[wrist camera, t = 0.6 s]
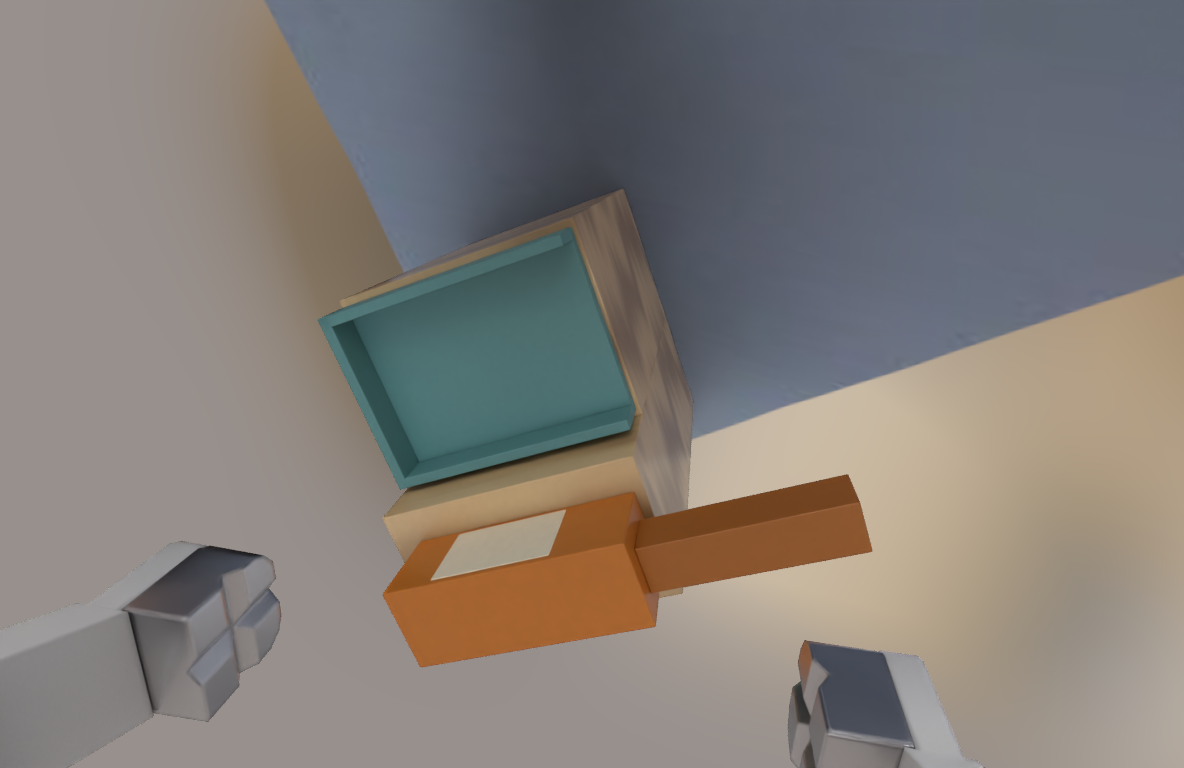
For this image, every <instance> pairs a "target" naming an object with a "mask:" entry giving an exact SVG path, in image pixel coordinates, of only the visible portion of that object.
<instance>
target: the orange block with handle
mask: <svg viewBox="0 0 1184 768" xmlns="http://www.w3.org/2000/svg"><path fill="white" fill-rule="evenodd" d="M868 552H872V547H871V543H870V539H869V536H868V531H867V528H866V524H865V520H864V516H863V512H862V508H861V505H860V501H859V499H858V497H857V494H856V492H855V490H854V487H853V485H852V482H851V480H850V478H849V475H842V476H838V477H833V478H829V479H824V480H819V481H816V482H811V483H806V484H801V485H797V486H793V487H788V488H783V489H779V490H775V491H770V492H765V493H761V494H756V495H752V496H747V497H742V498H738V499H733V500H729V501H724V502H720V503H715V504H711V505H706V506H702V507H697V508H693V509H689V510H683V511H679V512H674V513H670V514H665V515H661V516H656V517H652V518H647V519H645V518H644V516H643V513H642V510H641V508H640V505H639V502H638V500H637V497H636V494H635V492H631V493H626V494H622V495H618V496H614V497H609V498H605V499H601V500H596V501H592V502H588V503H584V504H579V505H575V506H571V507H566V508H562V509H558V510H554V511H549V512H545V513H541V514H536V515H532V516H528V517H524V518H519V519H515V520H511V521H506V522H502V523H498V524H494V525H489V526H485V527H481V528H476V529H472V530H468V531H464V532H459V533H455V534H451V535H446V536H442V537H438V538H434V539H429V540H425V541H421V542H420V543H419V544H418V546H417V547H416V548H415V550H414V551H413V553H412V554H411V555H410V557H409V558H408V560H407V561H406V562H405V564H404V565H403V567H402V568H401V569H400V571H399V572H398V574H397V575H396V576H395V578H394V579H393V581H392V582H391V583H390V585H389V586H388V587H387V589H386V590H385V592H384V593H383V597H384V599H385V601H386V603H387V605H388V606H389V609H390V610H391V612H392V614H393V616H394V618H395V620H396V622H397V624H398V626H399V628H400V629H401V631H402V633H403V635H404V637H405V639H406V641H407V643H408V645H409V647H410V649H411V651H412V652H413V654H414V656H415V658H416V660H417V662H418V664H419V666H420V667H427V666H432V665H438V664H443V663H450V662H455V661H461V660H467V659H472V658H478V657H483V656H490V655H495V654H501V653H507V652H513V651H519V650H524V649H530V648H535V647H542V646H547V645H553V644H559V643H565V642H570V641H576V640H582V639H587V638H593V637H599V636H605V635H611V634H616V633H622V632H628V631H634V630H640V629H645V628H651V627H655V626H656V618H657V609H658V600H659V592H661V591H666V590H672V589H677V588H682V587H687V586H693V585H698V584H704V583H709V582H714V581H719V580H724V579H730V578H735V577H741V576H746V575H751V574H757V573H762V572H767V571H773V570H778V569H783V568H788V567H794V566H799V565H804V564H809V563H815V562H820V561H826V560H831V559H836V558H842V557H846V556H852V555H858V554H863V553H868Z"/></svg>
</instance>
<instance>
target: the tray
mask: <svg viewBox="0 0 1184 768" xmlns="http://www.w3.org/2000/svg"><path fill="white" fill-rule="evenodd" d="M318 322H319V324H320V326H321V328H322V330H323V332H324V334H325V336H326V338H327V340H328V343H329V345H330V347H331V349H332V351H333V352H334V355H335V357H336V359H337V361H338V363H339V365H340V367H341V369H342V371H343V373H344V375H345V377H346V379H347V381H348V384H349V385H350V388H351V390H352V392H353V394H354V396H355V398H356V400H357V402H358V404H359V406H360V408H361V410H362V412H363V414H364V416H365V418H366V421H367V423H368V425H369V427H370V429H371V431H372V433H373V435H374V437H375V439H376V441H377V443H378V445H379V447H380V449H381V451H382V453H383V455H384V457H385V460H386V462H387V464H388V465H389V468H390V470H391V472H392V474H393V476H394V478H395V480H396V482H397V484H398V486H399V488H400V490H401V489H405V488H409V487H412V486H416V485H420V484H424V483H428V482H432V481H435V480H439V479H443V478H447V477H451V476H455V475H458V474H462V473H466V472H470V471H474V470H478V469H481V468H485V467H489V466H493V465H497V464H501V463H505V462H508V461H512V460H516V459H520V458H524V457H528V456H531V455H535V454H539V453H543V452H547V451H551V450H554V449H558V448H562V447H566V446H570V445H574V444H578V443H581V442H585V441H589V440H593V439H597V438H601V437H604V436H608V435H612V434H616V433H620V432H624V431H627V430H630V429H631V426H632V422H633V419H634V415H635V411H636V406H635V404H634V401H633V398H632V395H631V392H630V389H629V387H628V384H627V381H626V378H625V375H624V373H623V370H622V367H621V364H620V361H619V359H618V356H617V353H616V350H615V347H614V344H613V342H612V339H611V336H610V333H609V330H608V328H607V325H606V322H605V319H604V316H603V314H602V311H601V308H600V305H599V302H598V299H597V297H596V294H595V291H594V288H593V285H592V283H591V280H590V277H589V274H588V271H587V269H586V266H585V263H584V260H583V257H582V254H581V252H580V249H579V246H578V243H577V240H576V238H575V235H574V232H573V229H572V227H568V228H565V229H562V230H559V231H556V232H554V233H551V234H548V235H545V236H542V237H540V238H537V239H534V240H531V241H528V242H526V243H523V244H520V245H517V246H514V247H512V248H509V249H506V250H503V251H500V252H498V253H495V254H492V255H489V256H486V257H484V258H481V259H478V260H475V261H472V262H470V263H467V264H464V265H461V266H458V267H456V268H453V269H450V270H447V271H444V272H441V273H439V274H436V275H433V276H430V277H427V278H425V279H422V280H419V281H416V282H413V283H411V284H408V285H405V286H402V287H399V288H397V289H394V290H391V291H388V292H385V293H383V294H380V295H377V296H374V297H371V298H369V299H366V300H363V301H360V302H357V303H355V304H352V305H349V306H346V307H344V308H342V309H340V310H337V311H335V312H333V313H331V314H329V315H326V316H324V317H322V318H320V319H318Z"/></svg>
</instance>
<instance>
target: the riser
mask: <svg viewBox="0 0 1184 768" xmlns="http://www.w3.org/2000/svg"><path fill="white" fill-rule="evenodd" d="M568 227H572V229H573V232H574V235H575V238H576V240H577V243H578V246H579V249H580V252H581V254H582V257H583V260H584V263H585V266H586V269H587V271H588V274H589V277H590V280H591V283H592V285H593V288H594V291H595V294H596V297H597V299H598V302H599V305H600V308H601V311H602V314H603V316H604V319H605V322H606V325H607V328H608V330H609V333H610V336H611V339H612V342H613V344H614V347H615V350H616V353H617V356H618V359H619V361H620V364H621V367H622V370H623V373H624V375H625V378H626V381H627V384H628V387H629V389H630V392H631V395H632V398H633V401H634V404H635V406H636V411H635V415H634V419H633V422H632V426H631V429H630V430H627V431H624V432H620V433H616V434H612V435H608V436H604V437H601V438H597V439H593V440H589V441H585V442H581V443H578V444H574V445H570V446H566V447H562V448H558V449H554V450H551V451H547V452H543V453H539V454H535V455H531V456H528V457H524V458H520V459H516V460H512V461H508V462H505V463H501V464H497V465H493V466H489V467H485V468H481V469H478V470H474V471H470V472H466V473H462V474H458V475H455V476H451V477H447V478H443V479H439V480H435V481H432V482H428V483H424V484H420V485H416V486H412V487H409V488H408V489H407V490H406V491H405V493H404V494H403V495H402V496H401V497H400V498H399V500H398V501H397V502H396V503H395V504H394V505H393V506H392V508H391V509H390V510H389V511H388V512H387V514H386V515H385V516H384V517H383V521H384V523H385V525H386V527H387V529H388V531H389V533H390V535H391V536H392V539H393V541H394V543H395V545H396V547H397V548H398V551H399V553H400V554H401V556H402V558H403V560H404V563H405V562H406V561H407V560H408V558H409V557H410V555H411V554H412V553H413V551H414V550H415V548H416V547H417V546H418V544H419V543H420V542H421V541H425V540H429V539H434V538H438V537H442V536H446V535H451V534H455V533H459V532H464V531H468V530H472V529H476V528H481V527H485V526H489V525H494V524H498V523H502V522H506V521H511V520H515V519H519V518H524V517H528V516H532V515H536V514H541V513H545V512H549V511H554V510H558V509H562V508H566V507H571V506H575V505H579V504H584V503H588V502H592V501H596V500H601V499H605V498H609V497H614V496H618V495H622V494H626V493H631V492H635V494H636V497H637V500H638V502H639V505H640V508H641V510H642V513H643V516H644V518H645V519H647V518H652V517H656V516H661V515H665V514H670V513H674V512H679V511H683V510H687V509H688V491H689V474H690V473H689V472H690V456H691V439H692V421H693V403H694V402H693V399H692V396H691V392H690V389H689V386H688V383H687V380H686V377H685V374H684V371H683V368H682V365H681V362H680V359H679V356H678V353H677V350H676V347H675V344H674V341H673V337H672V334H671V331H670V328H669V325H668V322H667V319H666V316H665V313H664V310H663V307H662V304H661V301H660V298H659V295H658V292H657V289H656V285H655V282H654V279H653V276H652V273H651V270H650V267H649V264H648V261H647V258H646V255H645V252H644V249H643V246H642V243H641V240H640V237H639V234H638V230H637V227H636V224H635V221H634V218H633V215H632V212H631V209H630V206H629V203H628V200H627V197H626V194H625V191H624V188H622V189H620V190H617V191H614V192H611V193H609V194H606V195H603V196H601V197H598V198H595V199H592V200H590V201H587V202H584V203H581V204H579V205H576V206H573V207H570V208H568V209H565V210H562V211H559V212H557V213H554V214H551V215H549V216H546V217H543V218H540V219H538V220H535V221H532V222H529V223H527V224H524V225H521V226H518V227H516V228H513V229H510V230H507V231H505V232H502V233H499V234H497V235H494V236H491V237H488V238H486V239H483V240H480V241H477V242H475V243H472V244H469V245H467V246H465V247H462V248H460V249H458V250H455V251H453V252H451V253H448V254H446V255H444V256H442V257H439V258H437V259H435V260H432V261H430V262H428V263H425V264H423V265H421V266H419V267H416V268H414V269H412V270H409V271H407V272H405V273H402V274H400V275H398V276H396V277H393V278H391V279H389V280H386V281H384V282H382V283H380V284H377V285H375V286H373V287H370V288H368V289H366V290H363V291H362V292H359V293H357V294H354V295H352V296H350V297H347V298H345V299H343V300H341V301H340V304H341V305H342V308H344V307H346V306H349V305H352V304H355V303H357V302H360V301H363V300H366V299H369V298H371V297H374V296H377V295H380V294H383V293H385V292H388V291H391V290H394V289H397V288H399V287H402V286H405V285H408V284H411V283H413V282H416V281H419V280H422V279H425V278H427V277H430V276H433V275H436V274H439V273H441V272H444V271H447V270H450V269H453V268H456V267H458V266H461V265H464V264H467V263H470V262H472V261H475V260H478V259H481V258H484V257H486V256H489V255H492V254H495V253H498V252H500V251H503V250H506V249H509V248H512V247H514V246H517V245H520V244H523V243H526V242H528V241H531V240H534V239H537V238H540V237H542V236H545V235H548V234H551V233H554V232H556V231H559V230H562V229H565V228H568ZM682 593H683V587H682V588H677V589H672V590H666V591H661V592H659V598H661V597H666V596H672V595H677V594H682Z"/></svg>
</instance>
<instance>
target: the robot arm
mask: <svg viewBox="0 0 1184 768" xmlns="http://www.w3.org/2000/svg"><path fill="white" fill-rule="evenodd" d="M275 579H276V575H275V570H274V565H273V561H272V560H271V559H269V558H267V557H266V556H263V555H258V554H253V553H247V552H241V551H236V550H230V549H226V548H220V547H214V546H205V545H201V544H194V543H189V542H183V541H180V542H175V543H170V544H168V545H167V546H166V547H164V548H163V549H162V550H160V551H159V552H158V553H156V554H155V555H153V556H152V557H151V558H149V559H148V560H147V561H145V562H144V563H143V564H141V565H140V566H139V567H137V568H136V569H134V570H133V571H132V572H130V573H129V574H128V575H126V576H125V577H124V578H122V579H121V580H119V581H118V582H117V583H116V584H114V585H113V586H111V587H110V588H109V589H107V590H106V591H104V592H103V593H102V594H100V595H99V596H98V597H96V598H95V599H94V600H92V601H91V602H89V603H88V604H87V605H86V604H80V603H76V604H73V605H71V606H68V607H65V608H62V609H59V610H56V611H53V612H50V613H47V614H44V615H42V616H39V617H36V618H33V619H30V620H27V621H24V622H21V623H19V624H16V625H13V626H10V627H7V628H4V629H1V630H0V768H68V767H70V766H72V765H73V764H75V763H77V762H78V761H80V760H82V759H83V758H85V757H86V756H88V755H90V754H92V753H93V752H95V751H97V750H98V749H100V748H102V747H103V746H105V745H107V744H108V743H110V742H112V741H113V740H115V739H117V738H118V737H120V736H122V735H123V734H125V733H127V732H128V731H130V730H132V729H133V728H135V727H137V726H138V725H140V724H142V723H143V722H145V721H147V720H148V719H150V718H152V717H153V716H154V714H153V713H156V714H162V715H168V716H174V717H181V718H187V719H193V720H199V721H205V722H208V721H209V720H210V719H211V718H212V717H213V716H214V715H215V713H216V712H217V711H218V710H219V709H220V708H221V706H222V705H223V704H224V703H225V702H226V701H227V699H228V698H229V697H230V696H231V695H232V694H233V693H234V691H235V690H236V689H237V688H238V687H239V680H240V673H241V672H243V671H245V670H247V669H249V668H251V667H253V666H255V665H257V664H259V663H260V662H261V660H262V659H263V658H264V657H265V655H266V654H267V653H268V652H269V650H270V649H271V648H272V645H273V643H274V641H275V639H276V636H277V634H278V632H279V628H280V621H281V609H280V602H279V601H278V599H277V598H276V597H275V596H274V594H273V593H272V592H271V590H270V589H269V587H270V586H271V585H272V583H273V582H274V581H275ZM798 666H799V673H800V679H801V681H800V682H799V683H798V684H796V685H795V686H794V687H793V688H792V693H791V699H790V705H789V718H788V740H789V750H790V759H791V761H792V762H793V763H794V765H795V766H796V767H797V768H985V767H983V766H982V765H981V764H980V763H979V762H978V761H976V760H972V759H967V758H964V756H963V754H962V751H961V749H960V747H959V744H958V742H957V740H956V737H955V735H954V733H953V730H952V728H951V725H950V723H949V721H948V718H947V716H946V714H945V711H944V709H943V707H942V704H941V702H940V699H939V697H938V695H937V692H936V690H935V688H934V685H933V683H932V681H931V678H930V676H929V674H928V671H927V669H926V667H925V664H924V662H923V661H922V660H921V659H920V658H919V657H918V656H915V655H907V654H901V653H893V652H885V651H879V652H877V651H872V650H866V649H859V648H852V647H845V646H839V645H832V644H825V643H819V642H812V641H806V640H805V641H804V643H803V645H802V647H801V650H800V655H799V660H798Z"/></svg>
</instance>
